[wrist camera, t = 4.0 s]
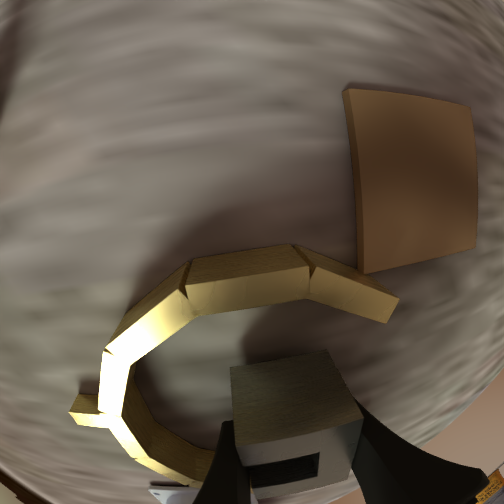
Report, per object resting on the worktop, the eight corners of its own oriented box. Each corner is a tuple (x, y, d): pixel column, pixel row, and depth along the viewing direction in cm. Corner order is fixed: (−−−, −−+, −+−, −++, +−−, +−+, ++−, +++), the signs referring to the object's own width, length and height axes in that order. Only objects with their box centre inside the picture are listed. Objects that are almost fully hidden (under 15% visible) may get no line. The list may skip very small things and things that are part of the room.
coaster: (467, 244, 11) (475, 247, 11) (357, 269, 11) (363, 274, 10) (462, 107, 9) (470, 106, 9) (342, 92, 9) (348, 88, 8)
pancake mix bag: (500, 467, 45) (526, 504, 19) (463, 497, 48) (487, 536, 21) (500, 465, 44) (528, 504, 17) (462, 497, 46) (487, 538, 19)
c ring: (349, 441, 14) (361, 468, 12) (130, 465, 14) (125, 492, 11) (367, 231, 10) (403, 248, 8) (27, 285, 10) (-4, 308, 7)
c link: (323, 420, 12) (347, 479, 8) (247, 435, 12) (256, 499, 8) (326, 349, 11) (364, 417, 7) (230, 367, 11) (235, 446, 7)
